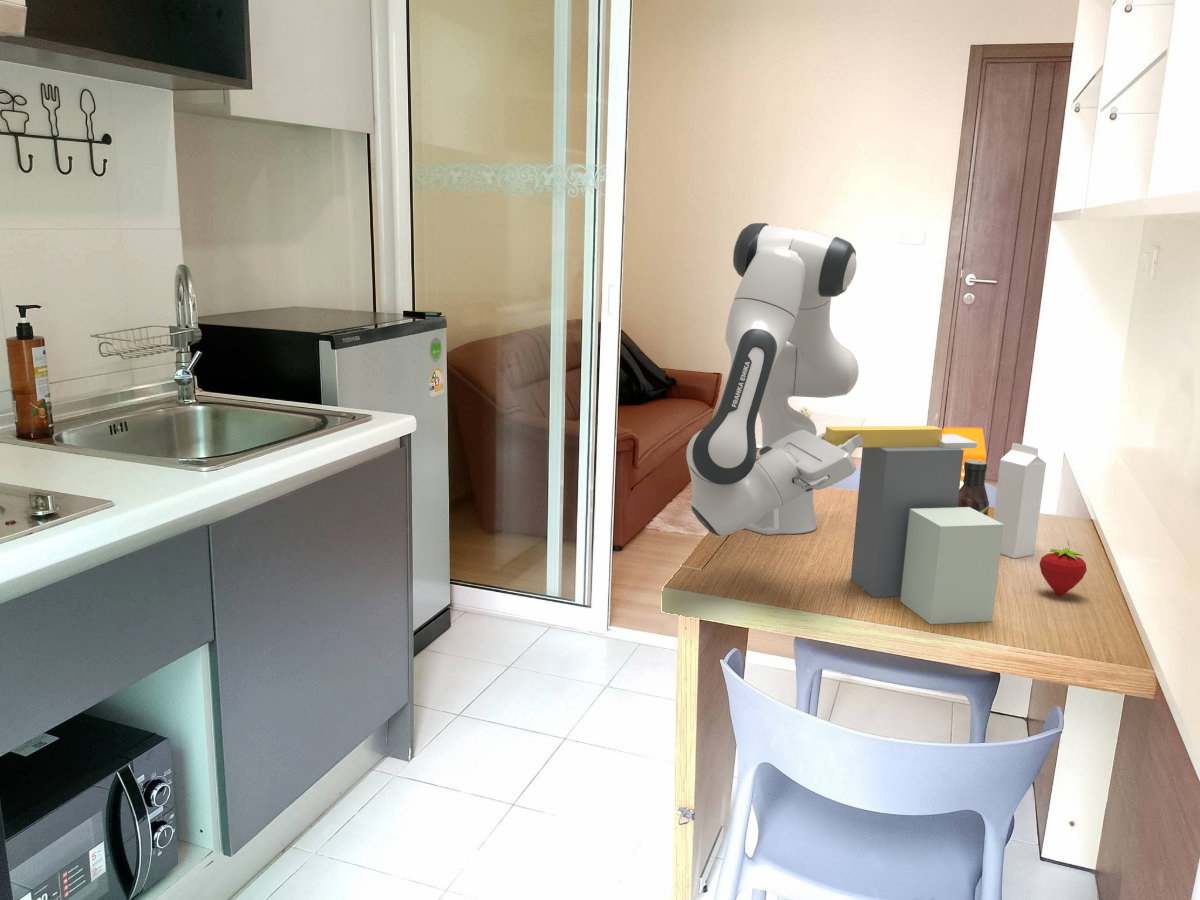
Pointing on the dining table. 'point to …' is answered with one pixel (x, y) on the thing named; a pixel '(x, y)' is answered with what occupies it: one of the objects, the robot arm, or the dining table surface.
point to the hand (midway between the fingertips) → (852, 434)
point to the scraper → (899, 437)
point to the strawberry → (1062, 570)
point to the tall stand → (897, 508)
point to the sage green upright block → (951, 564)
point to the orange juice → (972, 453)
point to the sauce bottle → (974, 487)
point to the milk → (1019, 499)
